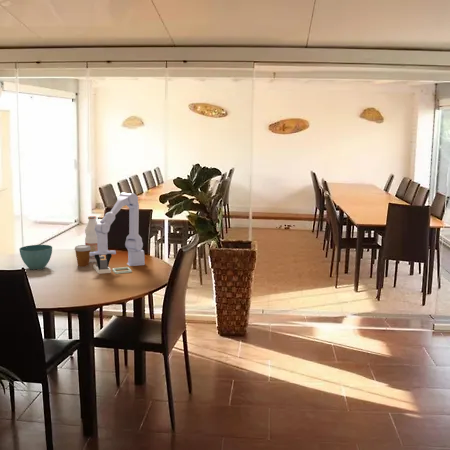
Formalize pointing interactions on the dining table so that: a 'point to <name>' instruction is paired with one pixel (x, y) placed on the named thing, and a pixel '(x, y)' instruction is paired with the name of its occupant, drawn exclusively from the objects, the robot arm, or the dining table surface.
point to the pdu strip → (101, 269)
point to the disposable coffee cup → (82, 255)
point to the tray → (121, 269)
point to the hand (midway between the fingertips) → (103, 267)
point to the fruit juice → (91, 236)
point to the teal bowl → (36, 255)
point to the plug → (103, 264)
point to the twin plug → (100, 258)
